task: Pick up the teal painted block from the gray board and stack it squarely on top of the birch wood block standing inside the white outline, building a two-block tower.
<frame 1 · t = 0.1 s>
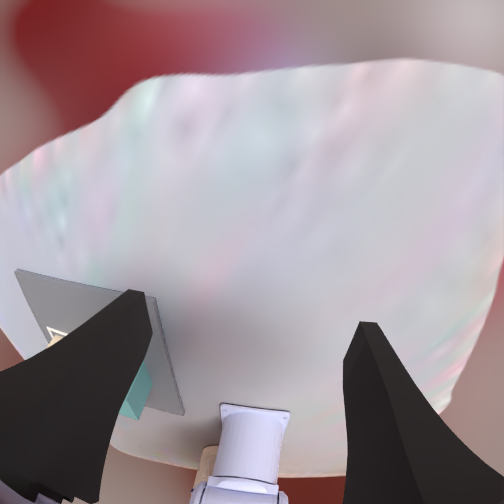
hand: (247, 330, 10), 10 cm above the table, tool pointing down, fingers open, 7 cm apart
teacup with lid: (225, 449, 41), on the table
gray board: (100, 351, 30), on the table
teal block: (130, 368, 29), point 1 cm above the table, touching gray board
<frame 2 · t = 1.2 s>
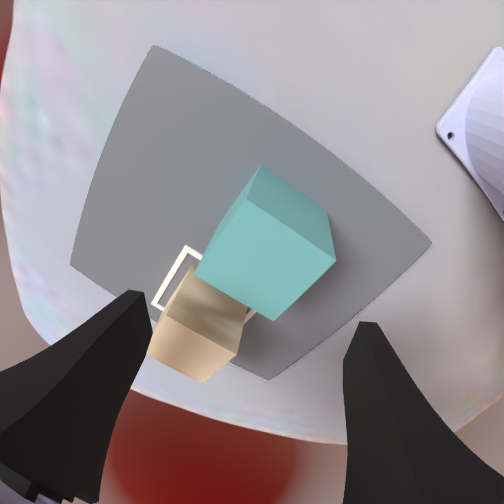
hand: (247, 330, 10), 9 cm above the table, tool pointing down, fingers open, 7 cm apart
gray board: (223, 250, 19), on the table
teal block: (271, 218, 17), point 1 cm above the table, touching gray board
birch block: (206, 300, 21), point 1 cm above the table, touching gray board
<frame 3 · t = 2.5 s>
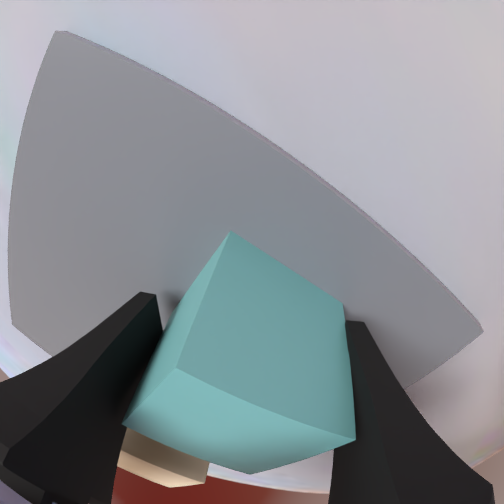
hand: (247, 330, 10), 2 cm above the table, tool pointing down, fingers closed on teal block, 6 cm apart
gray board: (185, 339, 13), on the table
teal block: (251, 310, 11), point 1 cm above the table, touching gray board, gripper
birch block: (169, 389, 15), point 1 cm above the table, touching gray board
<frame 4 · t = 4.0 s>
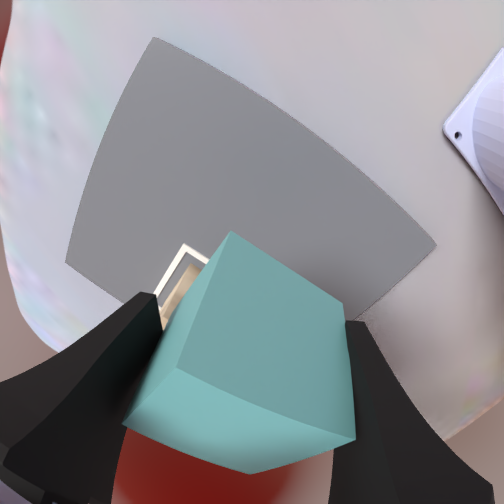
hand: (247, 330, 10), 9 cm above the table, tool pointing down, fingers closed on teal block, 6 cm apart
gray board: (222, 250, 19), on the table
teal block: (251, 310, 11), point 8 cm above the table, touching gripper
birch block: (204, 301, 21), point 1 cm above the table, touching gray board
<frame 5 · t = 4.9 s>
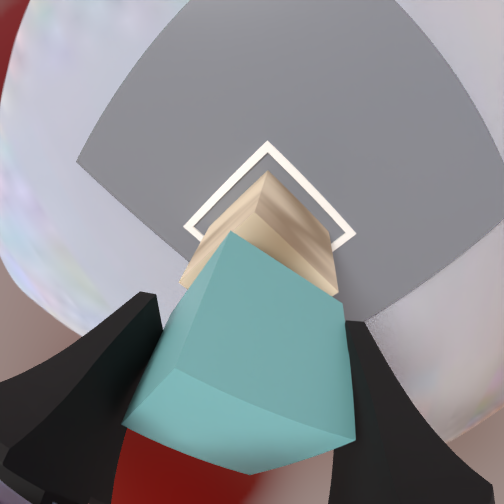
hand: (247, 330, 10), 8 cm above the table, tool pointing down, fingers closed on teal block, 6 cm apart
gray board: (311, 161, 14), on the table
teal block: (251, 310, 11), point 7 cm above the table, touching gripper
birch block: (268, 228, 16), point 1 cm above the table, touching gray board
when the fingers open (8 cm above the table, at t = 5.5 s): teal block drops 1 cm, resting on birch block.
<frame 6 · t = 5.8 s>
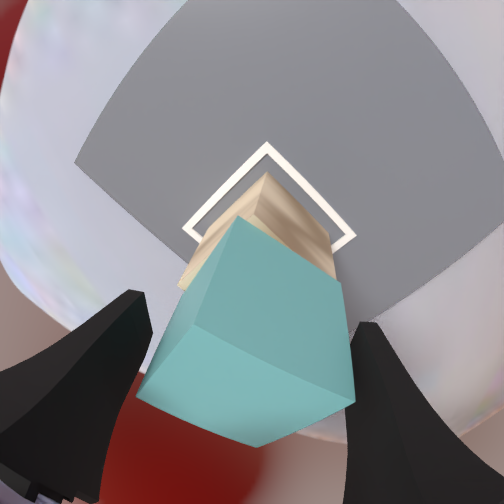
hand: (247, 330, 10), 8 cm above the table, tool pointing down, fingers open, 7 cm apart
gray board: (311, 162, 14), on the table
teal block: (256, 291, 11), point 6 cm above the table, touching birch block
birch block: (267, 230, 16), point 1 cm above the table, touching gray board, teal block
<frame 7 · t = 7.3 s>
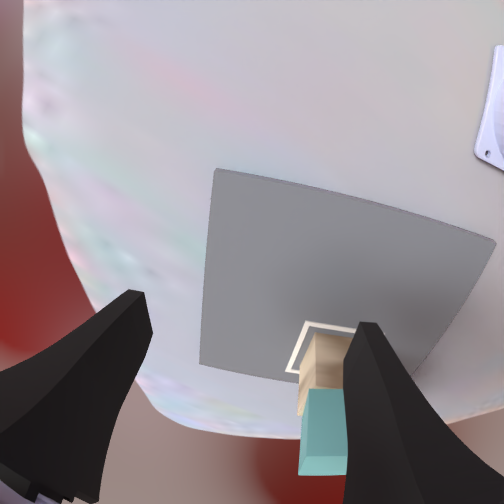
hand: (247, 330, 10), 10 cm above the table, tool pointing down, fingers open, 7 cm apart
gray board: (337, 313, 22), on the table
teal block: (335, 405, 19), point 6 cm above the table, touching birch block
birch block: (332, 354, 23), point 1 cm above the table, touching gray board, teal block
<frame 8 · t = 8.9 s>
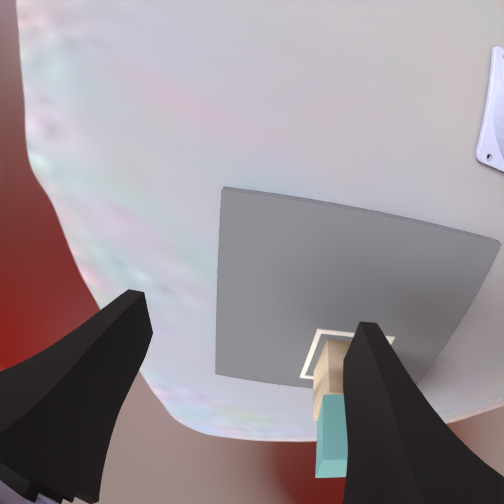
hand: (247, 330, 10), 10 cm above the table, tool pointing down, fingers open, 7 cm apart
gray board: (348, 319, 22), on the table
teal block: (349, 408, 19), point 6 cm above the table, touching birch block
birch block: (345, 359, 23), point 1 cm above the table, touching gray board, teal block
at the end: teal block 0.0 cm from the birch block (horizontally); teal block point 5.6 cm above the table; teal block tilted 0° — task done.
